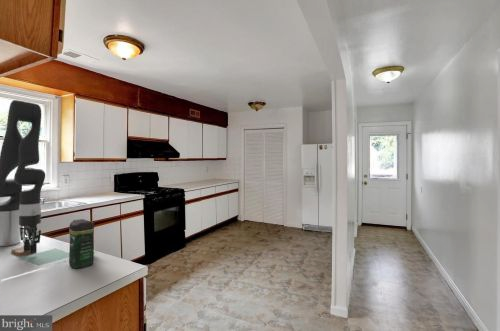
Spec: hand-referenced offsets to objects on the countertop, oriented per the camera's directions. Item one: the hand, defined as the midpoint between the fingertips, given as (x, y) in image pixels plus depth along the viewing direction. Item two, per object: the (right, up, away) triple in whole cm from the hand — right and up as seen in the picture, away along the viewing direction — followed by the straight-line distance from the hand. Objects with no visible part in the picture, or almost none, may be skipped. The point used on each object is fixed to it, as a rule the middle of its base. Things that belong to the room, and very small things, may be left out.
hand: (30, 251), depth 117 cm
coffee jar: (+28, -3, -8) cm, 30 cm away
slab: (-1, -1, 0) cm, 2 cm away
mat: (+9, -2, -1) cm, 9 cm away
